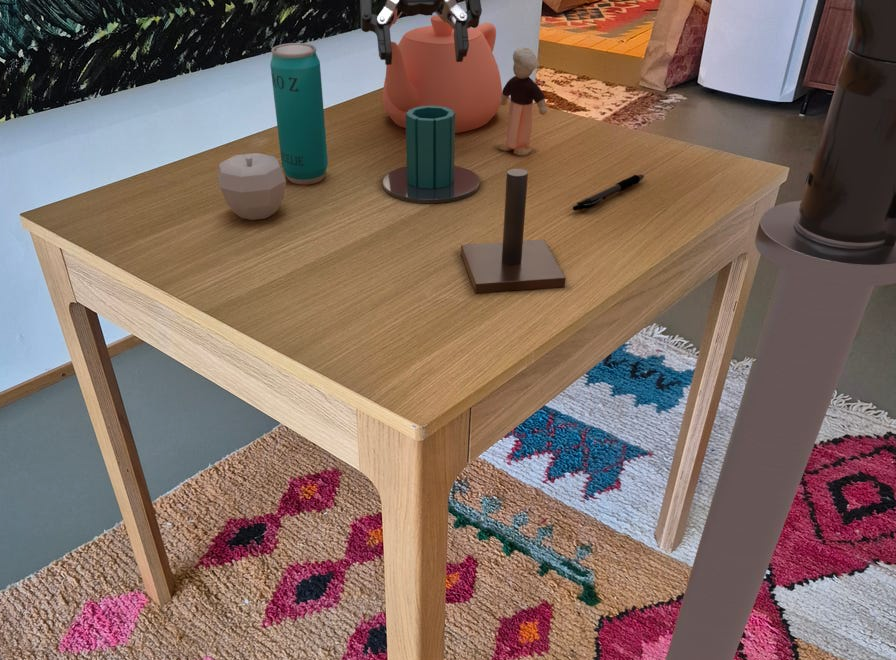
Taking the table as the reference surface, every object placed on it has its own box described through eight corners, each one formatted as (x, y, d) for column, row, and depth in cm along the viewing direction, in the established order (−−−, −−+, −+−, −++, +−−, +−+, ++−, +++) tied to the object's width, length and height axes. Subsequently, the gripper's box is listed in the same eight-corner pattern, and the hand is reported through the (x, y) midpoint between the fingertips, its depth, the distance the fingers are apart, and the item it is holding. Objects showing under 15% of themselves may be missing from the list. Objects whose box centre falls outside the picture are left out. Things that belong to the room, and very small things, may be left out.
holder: (543, 247, 89) (552, 153, 83) (564, 287, 82) (576, 187, 76) (460, 253, 89) (463, 158, 82) (475, 293, 82) (479, 192, 75)
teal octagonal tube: (457, 173, 105) (458, 107, 99) (448, 190, 101) (449, 121, 95) (413, 170, 106) (412, 104, 101) (403, 187, 102) (401, 118, 96)
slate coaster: (486, 170, 107) (487, 166, 106) (470, 207, 98) (470, 203, 98) (396, 164, 109) (396, 160, 109) (371, 199, 100) (371, 195, 100)
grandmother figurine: (486, 149, 113) (491, 46, 104) (501, 141, 115) (506, 40, 107) (537, 160, 109) (545, 55, 101) (550, 152, 112) (560, 48, 103)
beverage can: (299, 167, 108) (286, 40, 99) (337, 173, 107) (327, 45, 97) (274, 182, 105) (258, 51, 95) (313, 189, 103) (301, 56, 93)
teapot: (427, 155, 111) (427, 45, 103) (338, 129, 120) (330, 25, 111) (533, 109, 126) (541, 9, 117) (447, 89, 134) (448, -6, 125)
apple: (213, 227, 94) (202, 169, 90) (232, 200, 100) (224, 144, 96) (281, 229, 94) (274, 171, 89) (297, 202, 100) (291, 146, 95)
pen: (581, 216, 95) (582, 206, 94) (569, 212, 96) (570, 202, 95) (650, 182, 103) (651, 173, 102) (638, 179, 103) (640, 170, 103)
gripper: (352, -93, 95) (365, 43, 94) (475, -96, 96) (489, 37, 95) (352, -46, 103) (364, 80, 101) (466, -50, 104) (479, 75, 103)
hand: (425, 59), depth 98 cm, fingers open, 8 cm apart
